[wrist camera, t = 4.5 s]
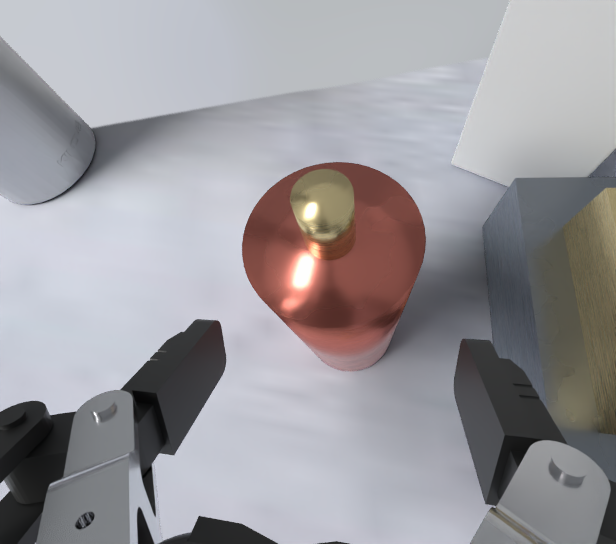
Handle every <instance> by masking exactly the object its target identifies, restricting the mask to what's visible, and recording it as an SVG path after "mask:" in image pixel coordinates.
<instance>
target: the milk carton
mask: <svg viewBox="0 0 616 544" xmlns="http://www.w3.org/2000/svg"><path fill="white" fill-rule="evenodd" d="M615 149H616V0H510V1H509V3H508V6H507V9H506V12H505V15H504V17H503V20H502V23H501V26H500V28H499V31H498V34H497V37H496V40H495V42H494V45H493V48H492V51H491V53H490V56H489V59H488V62H487V64H486V67H485V70H484V73H483V76H482V78H481V81H480V84H479V87H478V89H477V92H476V95H475V98H474V100H473V103H472V106H471V109H470V112H469V114H468V117H467V120H466V123H465V125H464V128H463V131H462V134H461V137H460V139H459V142H458V145H457V148H456V150H455V153H454V156H453V159H452V162H451V164H452V165H454V166H457V167H459V168H462V169H464V170H467V171H469V172H472V173H474V174H477V175H479V176H482V177H484V178H487V179H489V180H492V181H495V182H497V183H500V184H502V185H505V186H507V187H510V185H511V184H512V182H513V181H514V179H515V178H557V177H589V176H590V175H591V174H592V173H593V172H594V171H595V170H596V169H597V168H598V166H599V165H600V164H601V163H602V162H603V161H604V160H605V159H606V158H607V157H608V156H609V155H610V154H611V153H612V152H613V151H614V150H615Z"/></svg>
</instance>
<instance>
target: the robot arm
mask: <svg viewBox="0 0 616 544" xmlns="http://www.w3.org/2000/svg"><path fill="white" fill-rule="evenodd" d="M94 151H95V137H94V133H93V132H92V130H91V128H90V127H89V126H88V125H87V124H86V123H85V122H84V121H83V120H82V119H81V118H80V117H79V116H78V115H77V114H76V113H75V112H74V111H73V110H72V109H71V108H70V107H69V106H68V105H67V104H66V103H65V102H64V101H63V100H62V99H61V98H60V97H59V96H58V95H57V94H56V93H55V91H54V90H53V89H52V88H51V87H50V86H49V85H48V84H47V83H46V82H45V81H44V80H43V79H42V78H41V77H40V76H39V75H38V74H37V73H36V72H35V71H34V70H33V69H32V68H31V67H30V66H29V65H28V64H27V63H26V62H25V61H24V60H23V59H22V58H21V57H20V56H19V55H18V54H17V53H16V52H15V51H14V50H13V49H12V48H11V47H10V46H9V45H8V44H7V43H6V42H5V41H4V40H3V39H2V38H1V37H0V195H1V196H3V197H4V198H6V199H8V200H9V201H11V202H14V203H17V204H29V205H31V204H36V203H41V202H44V201H47V200H49V199H52V198H54V197H56V196H57V195H59V194H61V193H63V192H64V191H65V190H67V189H68V188H69V187H71V186H72V185H73V184H74V183H75V182H76V181H77V180H78V179H79V178H80V177H81V176H82V175H83V173H84V172H85V170H86V169H87V168H88V166H89V164H90V162H91V160H92V158H93V154H94ZM225 366H226V353H225V347H224V341H223V335H222V329H221V324H220V322H219V321H216V320H202V319H197V320H195V321H194V322H193V323H192V324H191V325H190V326H189V327H188V329H187V330H186V331H185V332H180V333H179V334H177V335H175V336H174V337H172V338H170V339H169V340H167V341H166V342H165V343H164V344H163V345H162V347H161V348H160V349H159V350H158V352H156V353H155V354H154V355H153V356H152V357H151V358H150V361H147V362H146V363H145V364H144V365H143V367H142V368H141V369H140V370H139V371H138V372H137V373H136V374H135V375H134V376H133V377H132V378H131V379H130V380H129V381H128V382H127V383H126V384H125V385H124V387H123V388H122V389H121V390H114V391H108V392H105V393H102V394H99V395H97V396H95V397H93V398H92V399H90V400H88V401H87V402H86V403H84V404H83V405H82V406H81V407H80V408H79V409H78V411H77V412H70V413H63V414H56V415H50V414H49V412H48V410H47V408H46V406H45V404H44V403H42V402H39V401H28V402H23V403H20V404H17V405H14V406H11V407H9V408H7V409H5V410H3V411H1V412H0V483H1V482H2V481H3V480H4V481H5V483H6V484H7V486H8V488H9V489H10V492H9V493H8V494H7V495H6V496H5V497H4V498H3V499H2V500H1V501H0V544H35V543H36V544H278V543H276V542H274V541H272V540H270V539H268V538H267V537H265V536H263V535H261V534H259V533H257V532H256V531H254V530H252V529H250V528H248V527H246V526H245V525H243V524H239V523H234V522H229V521H223V520H218V519H212V518H207V517H201V516H199V517H198V519H197V522H196V524H195V526H194V528H193V531H192V533H186V534H182V535H178V536H175V537H172V538H169V539H167V540H164V541H163V538H162V532H161V526H160V516H159V506H158V495H157V484H156V474H155V466H154V463H153V461H154V460H155V458H156V457H157V455H158V454H159V453H162V454H169V455H174V454H175V453H176V451H177V449H178V448H179V446H180V444H181V443H182V441H183V439H184V438H185V436H186V434H187V433H188V431H189V429H190V428H191V426H192V425H193V423H194V421H195V420H196V418H197V416H198V415H199V413H200V411H201V410H202V408H203V406H204V405H205V403H206V401H207V400H208V398H209V396H210V395H211V393H212V391H213V390H214V388H215V386H216V385H217V383H218V381H219V380H220V378H221V376H222V375H223V373H224V370H225ZM454 394H455V399H456V403H457V406H458V410H459V413H460V417H461V420H462V424H463V427H464V431H465V434H466V438H467V441H468V445H469V448H470V452H471V455H472V459H473V462H474V465H475V469H476V472H477V476H478V479H479V483H480V486H481V490H482V493H483V497H484V500H485V504H489V505H495V506H496V508H493V507H492V508H491V509H490V510H489V512H488V513H487V515H486V516H485V518H484V520H483V522H482V523H481V525H480V527H479V529H478V530H477V532H476V534H475V536H474V537H473V539H472V541H471V543H470V544H616V483H615V482H613V481H611V480H609V479H608V478H607V477H606V475H605V473H604V472H603V471H602V469H601V468H600V467H599V466H598V465H597V464H596V463H595V462H594V461H593V460H592V459H590V458H589V457H588V456H587V455H585V454H584V453H582V452H581V451H579V450H577V449H575V448H573V447H571V446H569V445H568V444H567V442H566V441H565V439H564V437H563V436H562V434H561V432H560V431H559V429H558V427H557V426H556V424H555V422H554V421H553V419H552V417H551V415H550V414H549V412H548V410H547V409H546V407H545V405H544V404H543V402H542V400H540V399H539V395H538V394H537V392H536V390H535V389H534V388H533V387H532V383H531V382H530V380H529V378H528V377H527V375H526V373H525V372H524V371H523V370H522V369H521V368H520V367H519V366H517V365H516V364H515V363H514V362H513V361H511V360H510V359H504V358H499V356H498V354H497V352H496V350H495V349H494V347H493V345H492V343H491V342H490V341H488V340H474V339H462V341H461V344H460V349H459V355H458V360H457V366H456V371H455V377H454ZM319 544H348V543H343V542H337V541H336V542H328V543H319Z"/></svg>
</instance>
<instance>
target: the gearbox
mask: <svg viewBox="0 0 616 544" xmlns="http://www.w3.org/2000/svg"><path fill="white" fill-rule="evenodd" d="M483 238H484V249H485V259H486V270H487V281H488V292H489V303H490V313H491V324H492V335H493V346H494V349H495V350H496V352H497V354H498V356H499V358H504V359H510V360H511V361H513V362H514V363H515V364H516V365H517V366H519V367H520V368H521V369H522V370H523V371H524V372H525V373H526V375H527V377H528V378H529V380H530V382H531V383H532V387H533V388H534V389H535V390H536V392H537V394H538V395H539V399H540V400H542V402H543V404H544V405H545V407H546V409H547V410H548V412H549V414H550V415H551V417H552V419H553V421H554V422H555V424H556V426H557V427H558V429H559V431H560V432H561V434H562V436H563V437H564V439H565V441H566V442H567V444H568V445H569V446H571V447H573V448H575V449H577V450H579V451H581V452H582V453H584V454H585V455H587V456H588V457H589V458H590V459H592V460H593V461H594V462H595V463H596V464H597V465H598V466H599V467H600V468H601V469H602V471H603V472H604V473H605V475H606V477H607V478H608V479H609V480H611V481H613V482H615V483H616V177H557V178H515V179H514V181H513V182H512V184H511V185H510V187H509V188H508V190H507V191H506V193H505V194H504V196H503V197H502V199H501V200H500V202H499V203H498V205H497V206H496V208H495V209H494V211H493V212H492V213H491V215H490V216H489V218H488V219H487V221H486V222H485V224H484V225H483Z"/></svg>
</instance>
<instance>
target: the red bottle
mask: <svg viewBox="0 0 616 544" xmlns="http://www.w3.org/2000/svg"><path fill="white" fill-rule="evenodd" d="M425 243H426V237H425V227H424V224H423V220H422V216H421V214H420V212H419V209H418V207H417V205H416V204H415V202H414V200H413V199H412V197H411V196H410V195H409V194H408V192H407V191H406V190H405V189H404V188H403V187H402V186H401V185H400V184H399V183H398V182H396V181H395V180H393V179H392V178H391V177H389V176H388V175H386V174H384V173H382V172H380V171H378V170H375V169H373V168H370V167H367V166H363V165H359V164H354V163H344V162H333V163H323V164H318V165H313V166H310V167H306V168H303V169H301V170H299V171H296V172H294V173H292V174H290V175H288V176H287V177H285V178H283V179H282V180H280V181H279V182H277V183H276V184H275V185H274V186H273V187H271V188H270V189H269V190H268V191H267V192H266V193H265V194H264V195H263V197H262V198H261V199H260V200H259V202H258V203H257V204H256V206H255V207H254V209H253V211H252V213H251V214H250V217H249V219H248V222H247V224H246V227H245V231H244V235H243V243H242V257H243V263H244V268H245V271H246V274H247V277H248V279H249V281H250V283H251V285H252V287H253V288H254V290H255V291H256V293H257V294H258V296H259V297H260V298H261V299H262V300H263V301H264V302H265V303H266V304H267V305H268V306H269V307H270V308H271V309H272V310H273V311H274V312H275V313H276V314H277V315H278V316H279V317H280V318H281V319H282V321H283V322H284V323H285V324H286V325H287V326H288V327H289V328H290V329H291V330H292V331H293V332H294V333H295V334H296V335H297V336H298V337H299V338H300V339H301V340H302V341H303V342H304V343H305V344H306V345H307V346H308V347H309V348H310V349H311V350H312V351H313V352H314V353H315V354H316V355H317V356H318V357H319V358H320V359H321V360H322V361H323V362H324V363H326V364H327V365H329V366H331V367H333V368H335V369H338V370H342V371H358V370H362V369H365V368H368V367H370V366H371V365H373V364H375V363H376V362H377V361H378V360H379V359H380V358H381V357H382V356H383V355H384V353H385V352H386V350H387V348H388V346H389V344H390V341H391V339H392V336H393V334H394V331H395V329H396V327H397V324H398V322H399V319H400V317H401V314H402V312H403V310H404V307H405V305H406V302H407V300H408V297H409V295H410V293H411V290H412V288H413V285H414V283H415V280H416V278H417V276H418V273H419V271H420V268H421V265H422V262H423V258H424V253H425Z"/></svg>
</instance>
